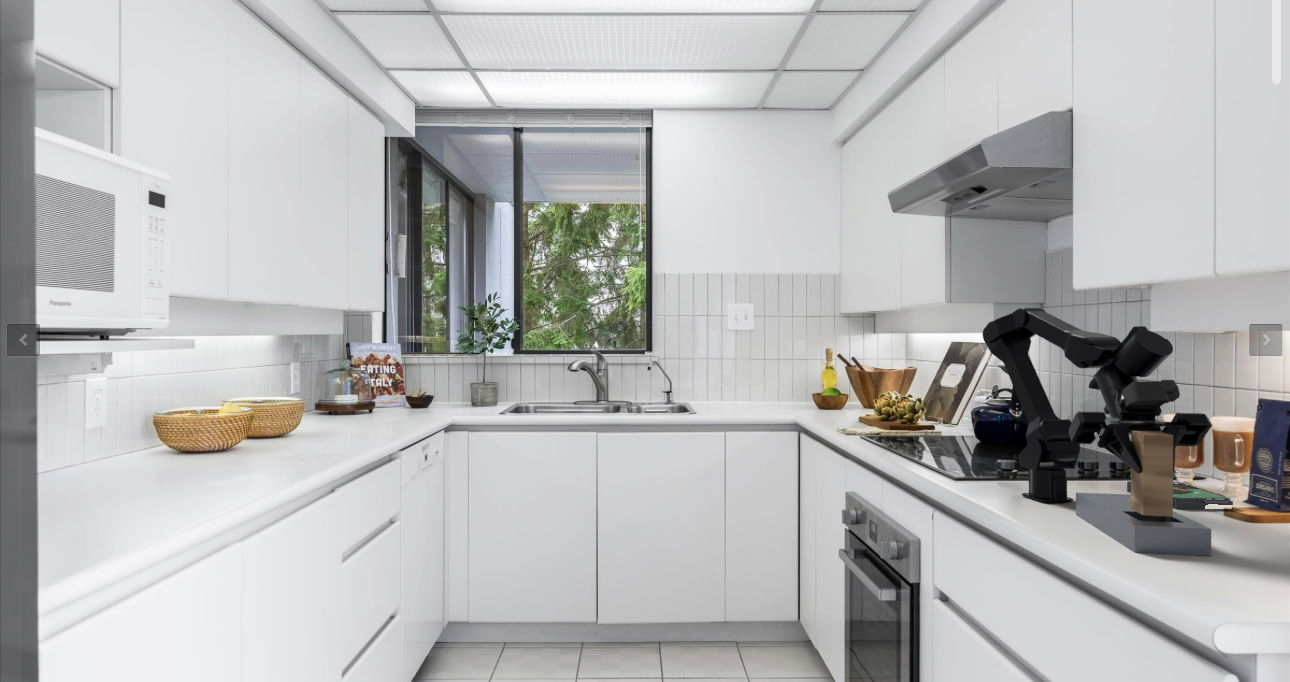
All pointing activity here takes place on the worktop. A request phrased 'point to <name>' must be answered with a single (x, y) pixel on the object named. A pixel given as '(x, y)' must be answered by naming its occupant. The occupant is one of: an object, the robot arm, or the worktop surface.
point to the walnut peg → (1153, 473)
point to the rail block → (1143, 526)
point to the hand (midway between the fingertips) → (1155, 472)
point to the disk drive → (1192, 497)
